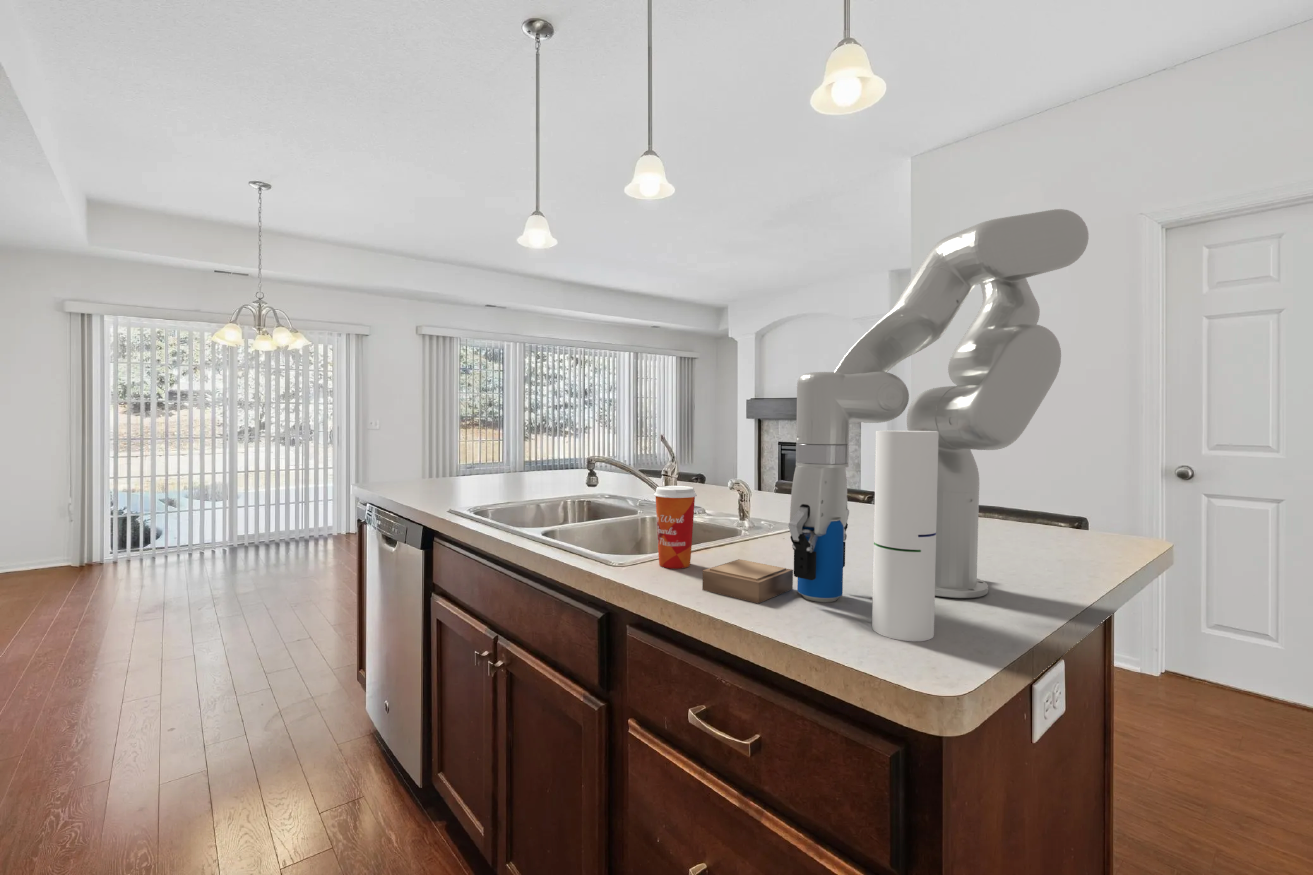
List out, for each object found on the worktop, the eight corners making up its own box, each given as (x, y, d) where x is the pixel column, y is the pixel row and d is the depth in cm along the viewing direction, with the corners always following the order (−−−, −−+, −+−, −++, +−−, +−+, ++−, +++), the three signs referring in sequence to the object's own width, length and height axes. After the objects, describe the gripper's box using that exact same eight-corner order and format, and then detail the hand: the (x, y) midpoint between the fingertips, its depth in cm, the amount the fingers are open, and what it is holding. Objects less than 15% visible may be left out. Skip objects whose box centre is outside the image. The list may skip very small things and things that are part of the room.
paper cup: (644, 565, 106) (645, 487, 106) (671, 557, 112) (672, 484, 112) (678, 572, 101) (679, 491, 101) (705, 564, 107) (705, 487, 107)
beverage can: (844, 605, 84) (846, 521, 84) (798, 602, 86) (799, 519, 85) (840, 592, 91) (841, 514, 90) (796, 589, 92) (797, 512, 92)
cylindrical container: (947, 638, 72) (952, 431, 71) (897, 643, 70) (902, 431, 69) (906, 618, 79) (910, 430, 78) (860, 623, 77) (864, 430, 76)
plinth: (738, 577, 99) (738, 557, 99) (792, 588, 92) (793, 568, 92) (702, 589, 91) (702, 568, 91) (758, 603, 85) (758, 580, 85)
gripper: (824, 453, 96) (822, 557, 97) (769, 457, 83) (767, 578, 84) (870, 455, 91) (868, 565, 92) (818, 460, 78) (816, 589, 79)
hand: (820, 571), depth 88 cm, fingers open, 9 cm apart
